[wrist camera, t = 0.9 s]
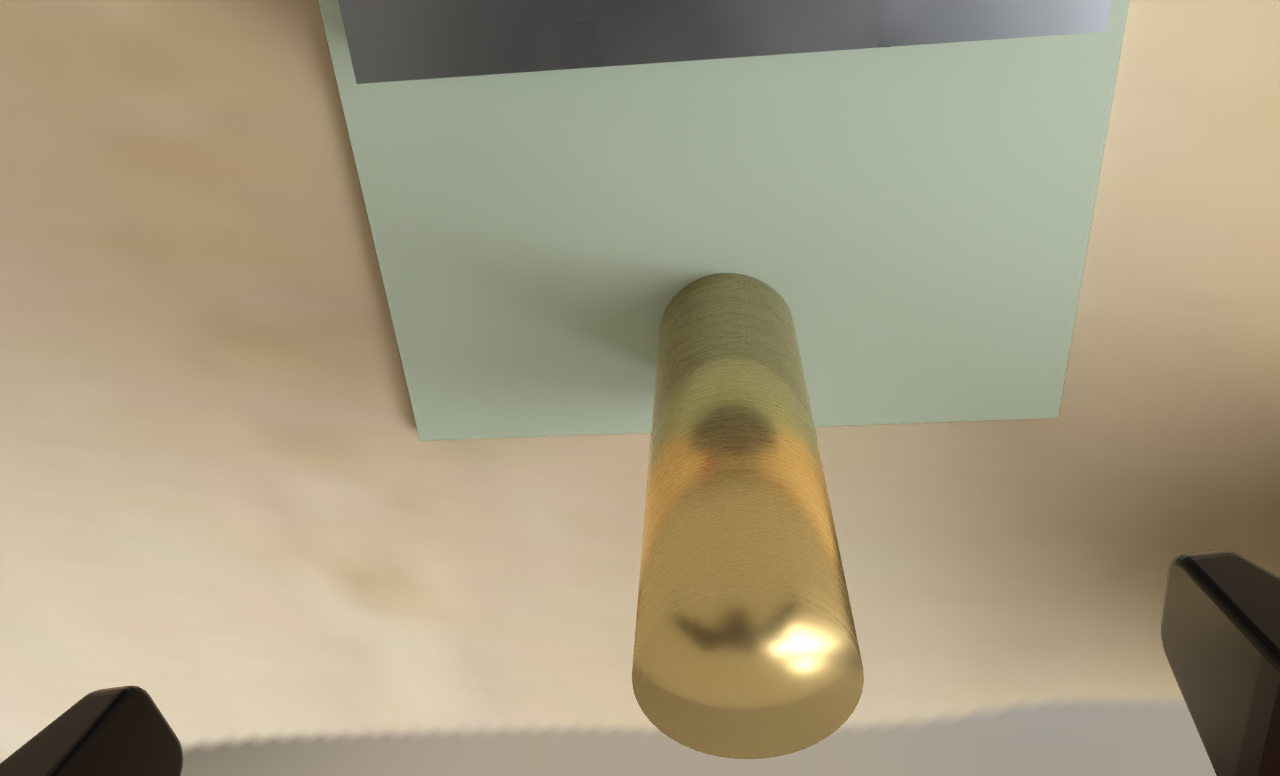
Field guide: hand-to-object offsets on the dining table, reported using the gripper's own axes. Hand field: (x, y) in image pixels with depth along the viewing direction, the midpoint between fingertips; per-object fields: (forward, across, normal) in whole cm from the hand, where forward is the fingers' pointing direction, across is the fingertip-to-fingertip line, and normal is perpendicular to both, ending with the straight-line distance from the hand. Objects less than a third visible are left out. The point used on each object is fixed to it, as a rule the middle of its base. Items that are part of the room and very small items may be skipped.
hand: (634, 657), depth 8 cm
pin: (+13, -1, +4) cm, 13 cm away
